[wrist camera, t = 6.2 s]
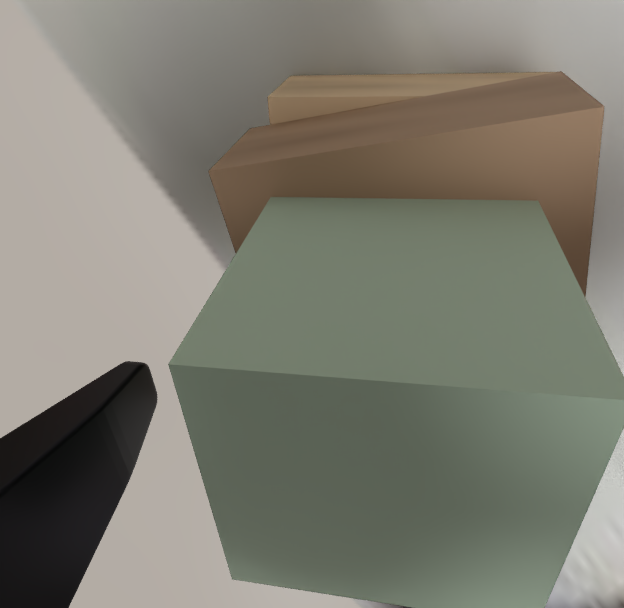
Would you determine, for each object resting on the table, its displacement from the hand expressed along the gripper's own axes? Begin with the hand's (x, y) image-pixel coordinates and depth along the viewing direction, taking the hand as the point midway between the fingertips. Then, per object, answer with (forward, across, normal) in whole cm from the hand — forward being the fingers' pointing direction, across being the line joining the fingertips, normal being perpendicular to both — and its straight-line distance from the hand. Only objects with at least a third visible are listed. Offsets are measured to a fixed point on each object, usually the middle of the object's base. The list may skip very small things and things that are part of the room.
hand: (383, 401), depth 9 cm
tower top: (+6, 0, 0) cm, 6 cm away
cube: (+3, 0, 0) cm, 3 cm away
